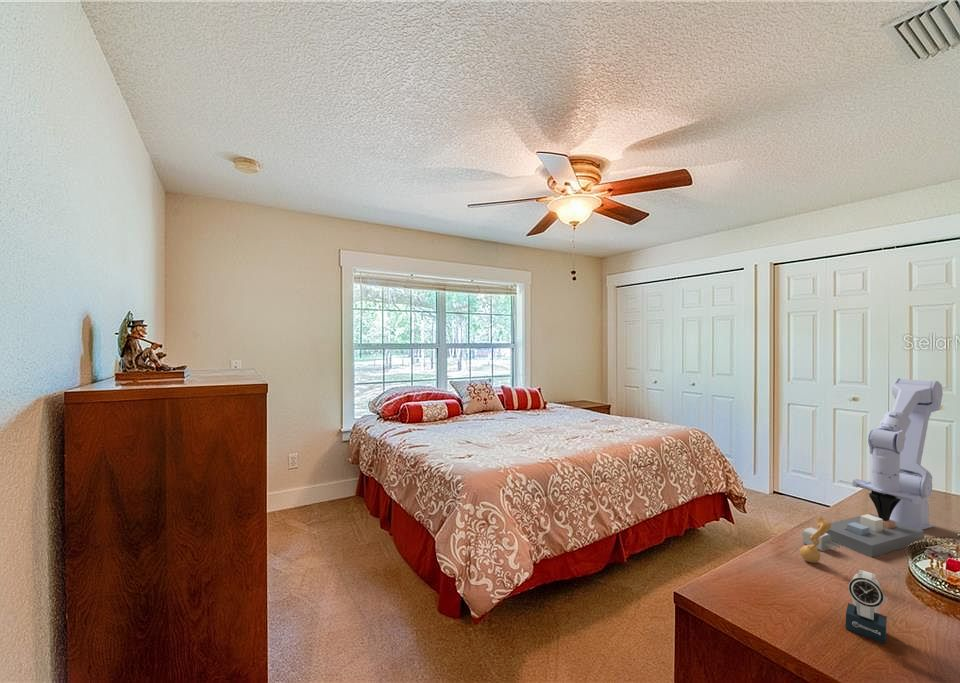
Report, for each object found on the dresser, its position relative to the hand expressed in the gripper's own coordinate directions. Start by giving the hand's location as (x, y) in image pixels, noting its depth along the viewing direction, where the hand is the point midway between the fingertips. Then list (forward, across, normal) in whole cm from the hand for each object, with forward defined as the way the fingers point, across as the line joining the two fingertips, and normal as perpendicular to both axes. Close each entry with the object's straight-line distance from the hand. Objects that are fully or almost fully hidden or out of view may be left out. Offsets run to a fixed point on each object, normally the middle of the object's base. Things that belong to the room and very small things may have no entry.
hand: (884, 519), depth 119 cm
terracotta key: (+3, 0, 0) cm, 3 cm away
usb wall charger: (+5, -1, -25) cm, 25 cm away
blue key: (+3, 0, -12) cm, 12 cm away
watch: (+5, +22, -52) cm, 57 cm away
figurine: (+5, +3, -35) cm, 35 cm away
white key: (+2, 0, -6) cm, 6 cm away
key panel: (+4, 0, -6) cm, 8 cm away
